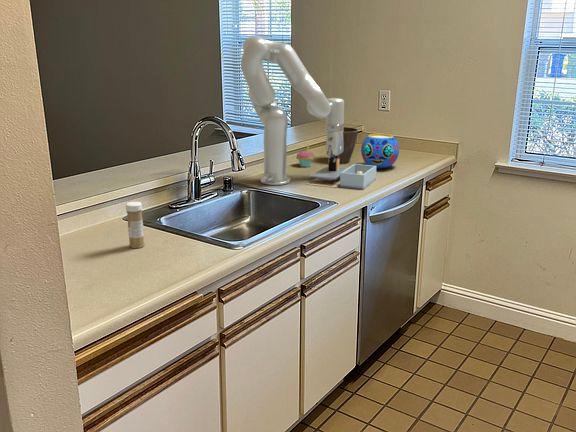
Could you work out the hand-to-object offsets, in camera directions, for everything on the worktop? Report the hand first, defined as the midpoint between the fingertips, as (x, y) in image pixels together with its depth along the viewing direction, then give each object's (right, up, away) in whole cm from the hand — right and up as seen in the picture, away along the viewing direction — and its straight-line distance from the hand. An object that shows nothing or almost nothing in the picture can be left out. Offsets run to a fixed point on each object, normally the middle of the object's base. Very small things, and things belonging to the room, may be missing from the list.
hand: (333, 169), depth 257 cm
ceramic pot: (+23, +2, +21) cm, 31 cm away
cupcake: (-12, +3, +24) cm, 27 cm away
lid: (-2, -2, -3) cm, 4 cm away
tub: (+10, -6, -7) cm, 14 cm away
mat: (-2, -5, -2) cm, 6 cm away
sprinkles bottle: (-65, -29, -78) cm, 106 cm away
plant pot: (+6, +6, +32) cm, 33 cm away
